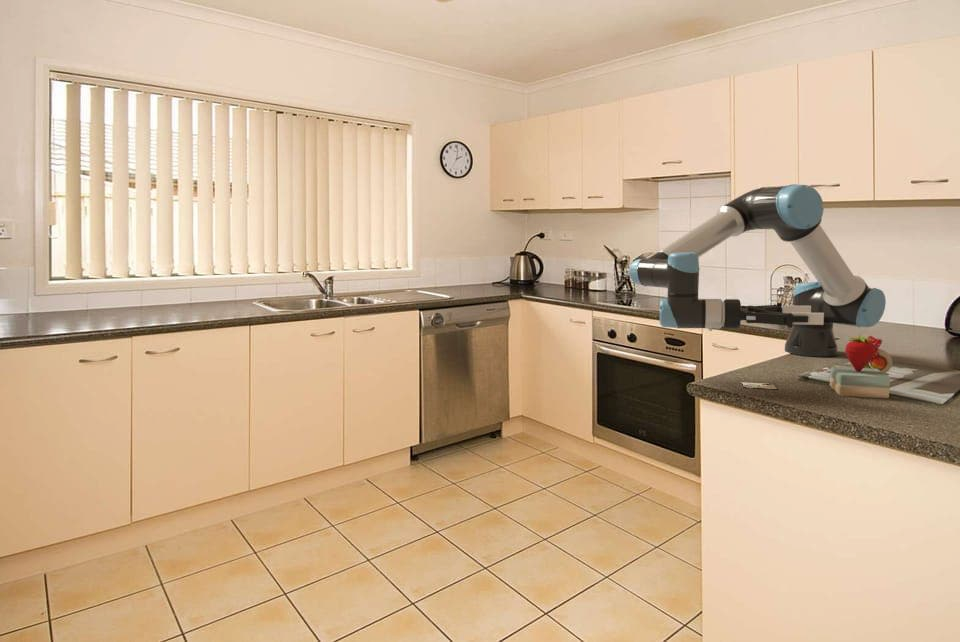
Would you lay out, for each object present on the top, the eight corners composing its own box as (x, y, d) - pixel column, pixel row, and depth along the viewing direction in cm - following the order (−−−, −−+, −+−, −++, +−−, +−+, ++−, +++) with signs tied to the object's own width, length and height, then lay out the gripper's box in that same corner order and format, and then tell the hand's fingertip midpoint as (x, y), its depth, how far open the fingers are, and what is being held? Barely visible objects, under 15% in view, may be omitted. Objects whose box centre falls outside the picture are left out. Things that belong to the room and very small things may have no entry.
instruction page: (740, 382, 158) (740, 382, 158) (774, 384, 156) (774, 383, 156) (743, 388, 153) (743, 387, 153) (778, 390, 150) (778, 389, 150)
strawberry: (879, 371, 147) (882, 330, 146) (864, 375, 143) (867, 332, 142) (853, 367, 152) (855, 328, 151) (838, 371, 148) (840, 330, 147)
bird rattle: (877, 381, 167) (843, 366, 170) (899, 346, 164) (864, 331, 166) (881, 387, 161) (846, 371, 164) (905, 350, 158) (868, 334, 161)
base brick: (829, 385, 154) (831, 366, 154) (875, 388, 151) (876, 368, 151) (840, 395, 145) (841, 374, 144) (888, 398, 142) (890, 377, 141)
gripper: (718, 321, 167) (805, 322, 161) (726, 336, 143) (828, 338, 137) (719, 294, 166) (806, 294, 159) (727, 305, 142) (830, 305, 136)
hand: (816, 314), depth 148 cm, fingers open, 13 cm apart
